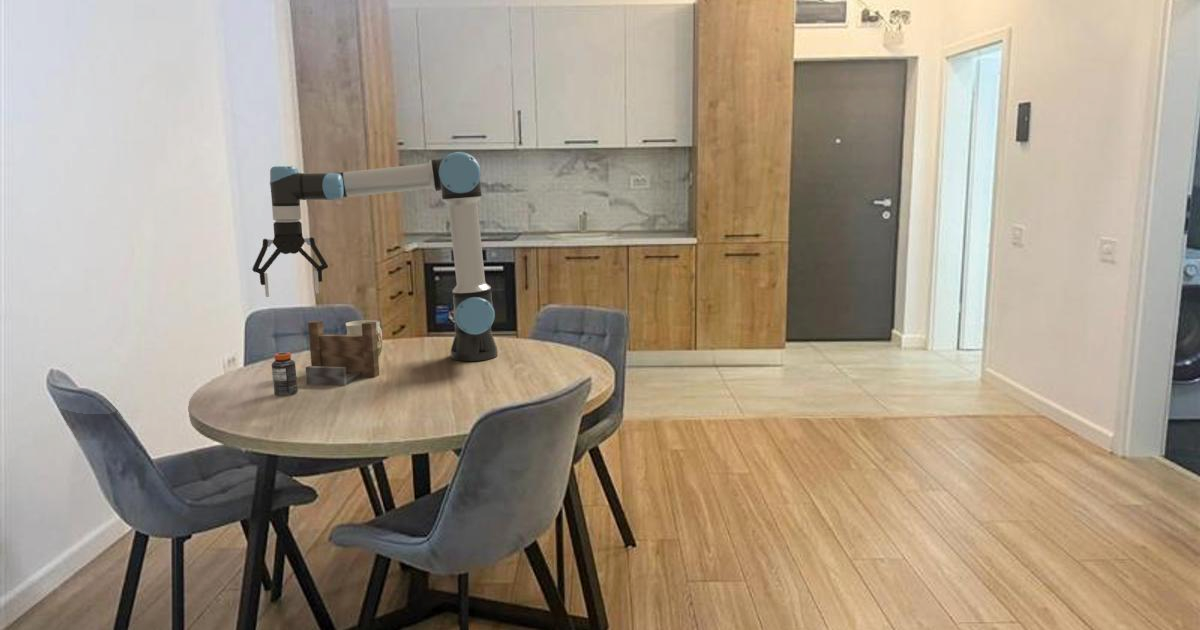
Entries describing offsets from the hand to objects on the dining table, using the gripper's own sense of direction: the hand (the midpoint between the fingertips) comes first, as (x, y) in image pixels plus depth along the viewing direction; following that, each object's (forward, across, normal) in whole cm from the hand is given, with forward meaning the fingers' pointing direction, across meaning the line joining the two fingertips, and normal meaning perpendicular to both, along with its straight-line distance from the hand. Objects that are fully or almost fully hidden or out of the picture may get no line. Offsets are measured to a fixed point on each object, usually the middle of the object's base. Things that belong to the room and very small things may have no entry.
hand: (292, 294), depth 227 cm
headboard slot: (+24, -10, +9) cm, 28 cm away
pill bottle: (+25, +5, +19) cm, 31 cm away
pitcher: (+24, -21, -8) cm, 33 cm away
